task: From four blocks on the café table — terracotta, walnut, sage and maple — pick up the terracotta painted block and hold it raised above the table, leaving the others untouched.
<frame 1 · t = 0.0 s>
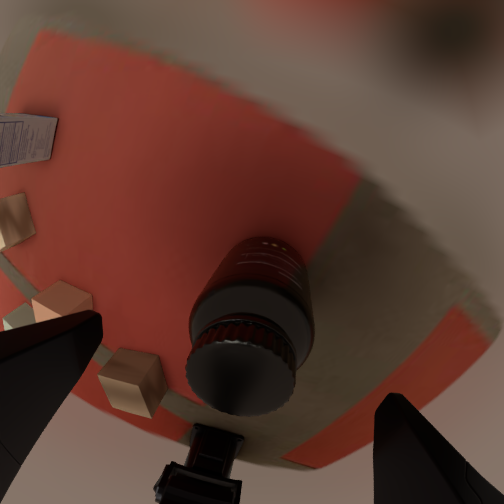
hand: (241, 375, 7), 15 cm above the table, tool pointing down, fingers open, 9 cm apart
medicine box: (36, 135, 21), on the table
maple block: (21, 219, 25), on the table
supplement bottle: (265, 275, 22), on the table
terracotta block: (77, 305, 27), on the table
walnut block: (143, 368, 28), on the table
sage painted block: (37, 324, 30), on the table
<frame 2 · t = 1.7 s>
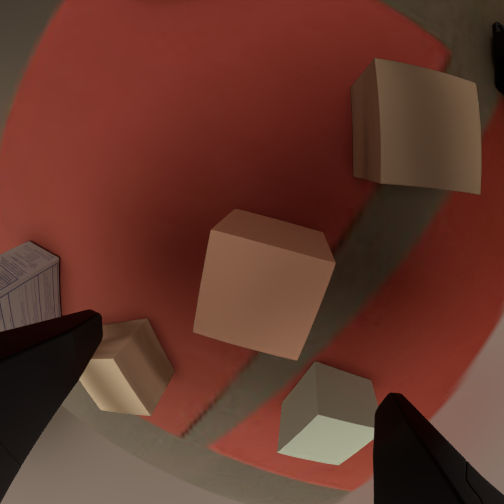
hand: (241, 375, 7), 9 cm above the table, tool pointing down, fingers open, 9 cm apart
medicine box: (47, 286, 20), on the table
maple block: (136, 348, 20), on the table
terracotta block: (268, 261, 16), on the table
walnut block: (394, 135, 13), on the table
sage painted block: (326, 392, 19), on the table
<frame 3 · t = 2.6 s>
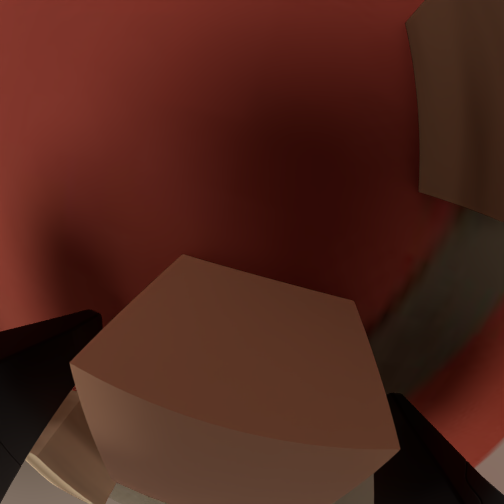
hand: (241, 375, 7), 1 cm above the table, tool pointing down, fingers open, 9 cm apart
maple block: (84, 418, 12), on the table
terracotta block: (248, 346, 9), on the table
walnut block: (483, 117, 5), on the table
sage painted block: (333, 483, 11), on the table
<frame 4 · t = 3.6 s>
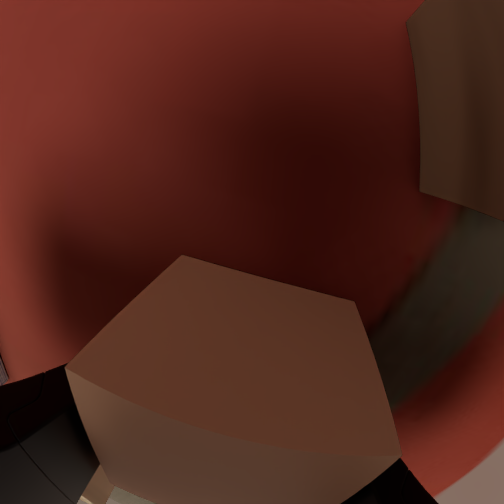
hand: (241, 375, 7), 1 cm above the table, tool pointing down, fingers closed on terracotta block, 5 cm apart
maple block: (84, 418, 12), on the table
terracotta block: (248, 348, 8), on the table, touching gripper
walnut block: (484, 117, 5), on the table
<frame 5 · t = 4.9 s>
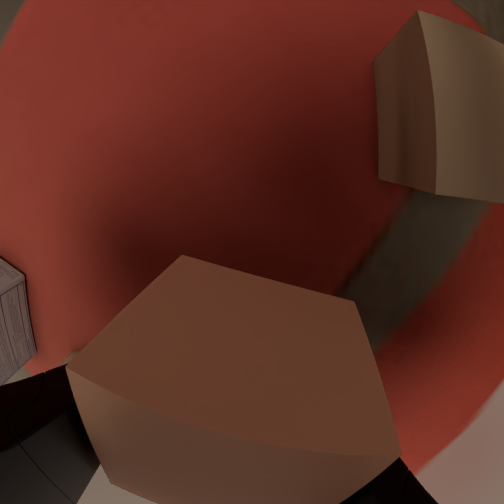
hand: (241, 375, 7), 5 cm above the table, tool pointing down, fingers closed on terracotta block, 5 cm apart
medicine box: (18, 304, 16), on the table
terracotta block: (248, 348, 8), point 4 cm above the table, touching gripper
walnut block: (429, 126, 9), on the table
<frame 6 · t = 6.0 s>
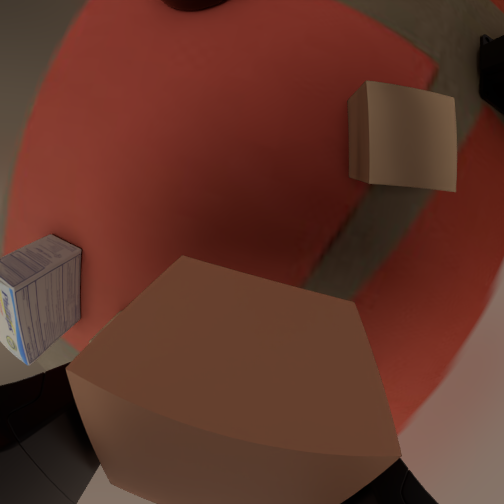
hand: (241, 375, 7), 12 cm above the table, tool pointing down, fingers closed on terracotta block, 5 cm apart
medicine box: (67, 276, 23), on the table
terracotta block: (248, 349, 8), point 11 cm above the table, touching gripper
walnut block: (385, 141, 15), on the table
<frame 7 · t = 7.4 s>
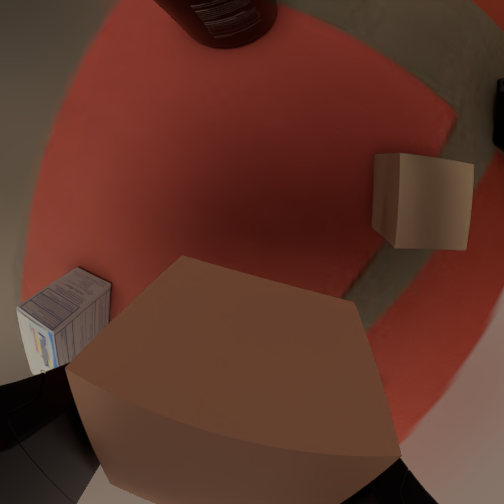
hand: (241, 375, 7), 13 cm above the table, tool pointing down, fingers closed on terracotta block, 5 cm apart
medicine box: (94, 306, 24), on the table
supplement bottle: (230, 14, 15), on the table
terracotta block: (248, 349, 8), point 12 cm above the table, touching gripper
walnut block: (405, 193, 17), on the table
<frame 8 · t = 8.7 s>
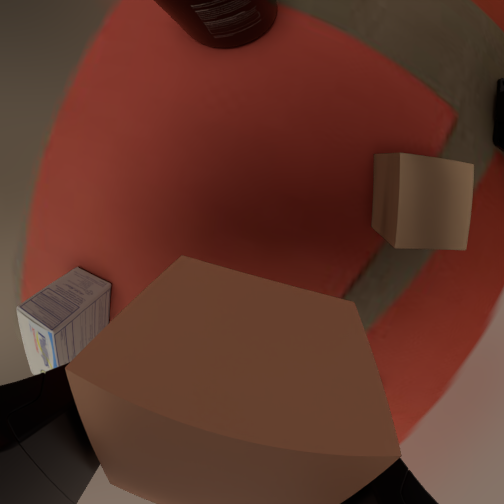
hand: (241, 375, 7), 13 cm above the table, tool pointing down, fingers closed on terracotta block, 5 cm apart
medicine box: (94, 306, 24), on the table
supplement bottle: (230, 14, 15), on the table
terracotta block: (248, 349, 8), point 12 cm above the table, touching gripper
walnut block: (405, 193, 17), on the table
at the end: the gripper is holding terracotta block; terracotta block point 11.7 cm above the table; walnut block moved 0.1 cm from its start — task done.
